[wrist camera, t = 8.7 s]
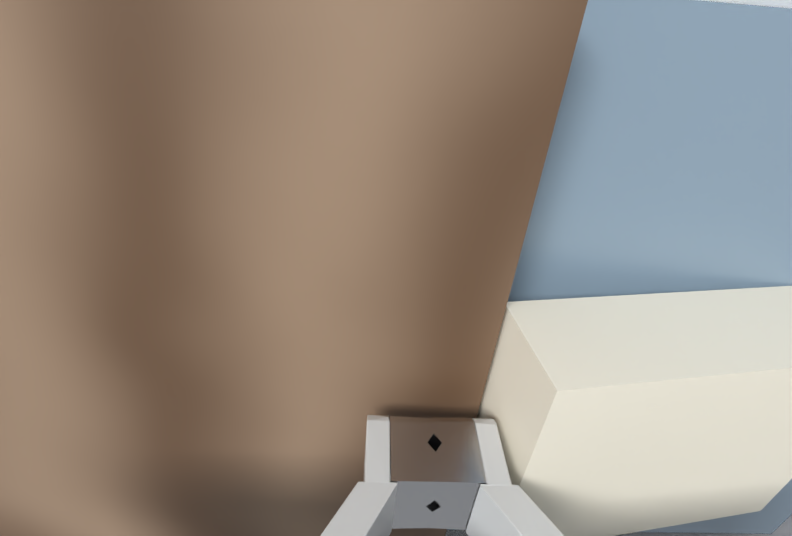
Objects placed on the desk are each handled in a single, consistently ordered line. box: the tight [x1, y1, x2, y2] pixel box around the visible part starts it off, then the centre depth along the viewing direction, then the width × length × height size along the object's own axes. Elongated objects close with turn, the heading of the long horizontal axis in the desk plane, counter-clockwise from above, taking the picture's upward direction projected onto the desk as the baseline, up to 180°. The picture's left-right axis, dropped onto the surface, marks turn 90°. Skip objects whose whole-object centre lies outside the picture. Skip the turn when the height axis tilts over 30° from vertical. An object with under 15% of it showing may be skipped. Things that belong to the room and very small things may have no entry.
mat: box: [447, 0, 792, 534], centre depth 13 cm, size 14×18×1 cm
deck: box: [0, 0, 588, 536], centre depth 12 cm, size 14×18×2 cm
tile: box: [476, 286, 792, 536], centre depth 11 cm, size 8×6×2 cm
